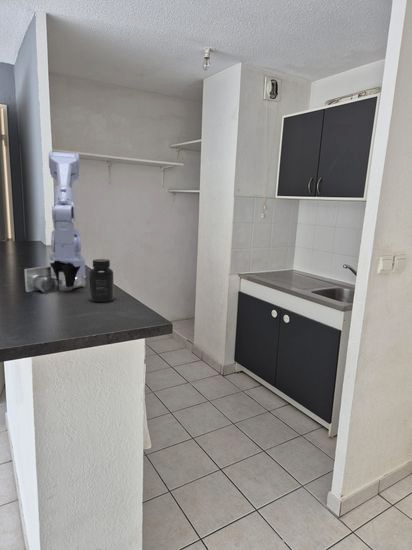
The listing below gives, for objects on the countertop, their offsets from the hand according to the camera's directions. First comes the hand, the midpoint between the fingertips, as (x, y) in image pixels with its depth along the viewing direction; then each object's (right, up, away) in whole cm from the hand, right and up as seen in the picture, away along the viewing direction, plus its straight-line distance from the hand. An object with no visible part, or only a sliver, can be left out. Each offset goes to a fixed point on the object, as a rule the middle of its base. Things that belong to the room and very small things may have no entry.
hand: (65, 285), depth 121 cm
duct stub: (-6, -2, -3) cm, 7 cm away
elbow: (+1, -1, +2) cm, 2 cm away
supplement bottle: (+14, -4, -9) cm, 17 cm away
